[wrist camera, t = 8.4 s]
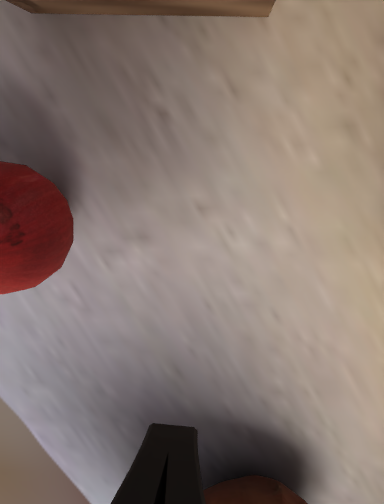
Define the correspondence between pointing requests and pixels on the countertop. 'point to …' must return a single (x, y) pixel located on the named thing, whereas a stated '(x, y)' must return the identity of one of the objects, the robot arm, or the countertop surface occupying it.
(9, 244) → the onion
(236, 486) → the butternut squash
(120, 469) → the countertop surface
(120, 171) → the countertop surface
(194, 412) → the countertop surface
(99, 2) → the wooden frame
